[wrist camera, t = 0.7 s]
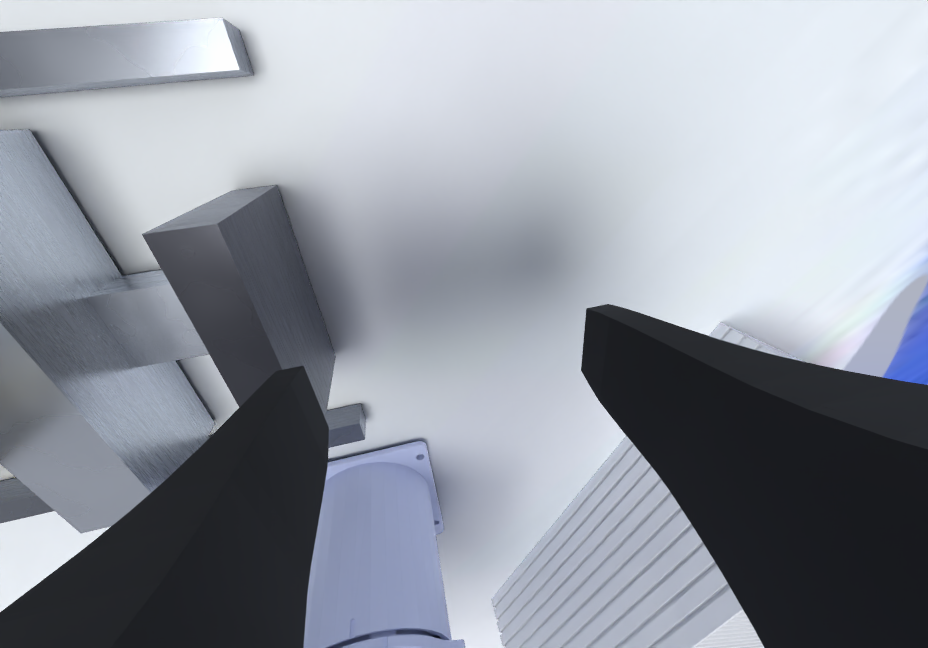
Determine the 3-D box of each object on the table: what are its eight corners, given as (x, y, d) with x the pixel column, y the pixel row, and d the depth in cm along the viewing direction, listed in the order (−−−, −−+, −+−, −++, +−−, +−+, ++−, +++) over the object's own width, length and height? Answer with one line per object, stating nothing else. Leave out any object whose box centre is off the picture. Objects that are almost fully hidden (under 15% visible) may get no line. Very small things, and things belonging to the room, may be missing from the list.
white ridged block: (574, 595, 38) (637, 743, 29) (490, 596, 34) (532, 768, 25) (803, 360, 27) (1026, 485, 18) (717, 320, 23) (949, 454, 14)
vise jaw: (348, 394, 19) (339, 496, 14) (149, 437, 17) (56, 567, 12) (250, 107, 12) (160, 97, 7) (-83, 140, 11) (-491, 157, 6)
